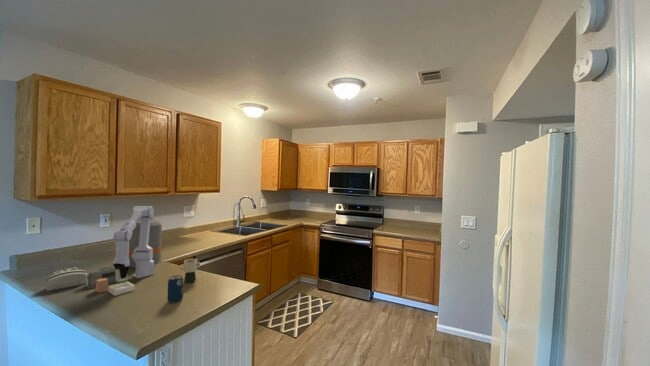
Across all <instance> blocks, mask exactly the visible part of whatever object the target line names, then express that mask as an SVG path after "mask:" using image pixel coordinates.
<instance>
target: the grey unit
mask: <svg viewBox="0 0 650 366" xmlns="http://www.w3.org/2000/svg"><path fill="white" fill-rule="evenodd" d="M103 278H106V279H108V284H112V283H116V282H117V281H116V269H115V267H114V266H113V264H112V265H108V266H104V267H98V268H97V269H96V270H91V271H88V275H87V281H88V283H87V284H84V287H86V288H88V289H92V288H96V280H98V279H103ZM117 283H118V282H117Z"/></svg>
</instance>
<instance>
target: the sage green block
mask: <svg viewBox="0 0 650 366" xmlns="http://www.w3.org/2000/svg"><path fill="white" fill-rule="evenodd" d="M116 281H117V283H122V282H126V281H128V275H127V276H126V278H123V279H121V277H120V271H119V269H116Z"/></svg>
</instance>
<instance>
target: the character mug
mask: <svg viewBox="0 0 650 366" xmlns="http://www.w3.org/2000/svg"><path fill="white" fill-rule="evenodd" d="M179 265H180V266H179V269H180V271H184V273H185V274H184V278H183V283H187V284H190V283H191V284H192V283H193V282H196V281H197V277H196V271H197V269H198V268H201V262H200V261H198V259H197V258H188V259H185V260H183V264H179Z"/></svg>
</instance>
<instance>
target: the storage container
mask: <svg viewBox="0 0 650 366" xmlns="http://www.w3.org/2000/svg"><path fill="white" fill-rule="evenodd" d="M140 228H141V220H140V219H139V220H138V221H137V222H136V227H135V229H134V230H133V232H132V236H131V239H130V240H129V262H130V265H131V267H130V268H133V269H134V268H135V269H136V263H135V261H133V259H132V255H133V253H134V249H135V248H137V247H138V246H139V238H140ZM162 229H163V225H162V222H161V221H160V220H158V219H154V218H153V219H151V220H150V230H149V241H148V246H150V247H151V248H153V258H152V260H153V261H154V266H155V265H157V263H158V264H160V263H161V262H162ZM140 251H146V250H140ZM159 262H160V263H159Z"/></svg>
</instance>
